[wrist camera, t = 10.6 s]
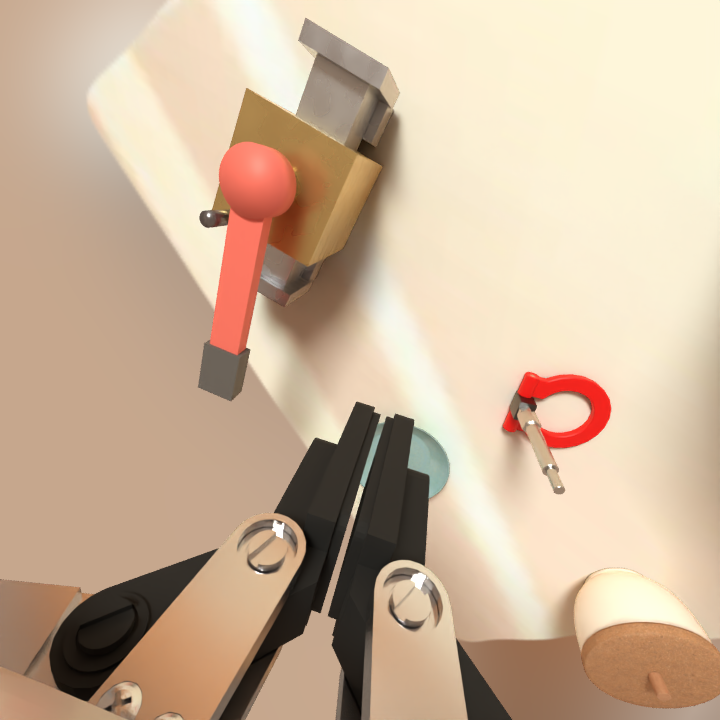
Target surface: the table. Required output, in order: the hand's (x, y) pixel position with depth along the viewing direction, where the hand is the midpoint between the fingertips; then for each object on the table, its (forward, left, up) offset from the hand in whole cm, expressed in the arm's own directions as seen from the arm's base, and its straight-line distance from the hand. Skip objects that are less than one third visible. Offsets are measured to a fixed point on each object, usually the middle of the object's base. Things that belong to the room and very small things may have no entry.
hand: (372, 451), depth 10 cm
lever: (+5, -11, -15) cm, 19 cm away
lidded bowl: (+21, +41, -27) cm, 54 cm away
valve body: (-2, -12, -27) cm, 30 cm away
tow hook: (+5, +19, -27) cm, 34 cm away
